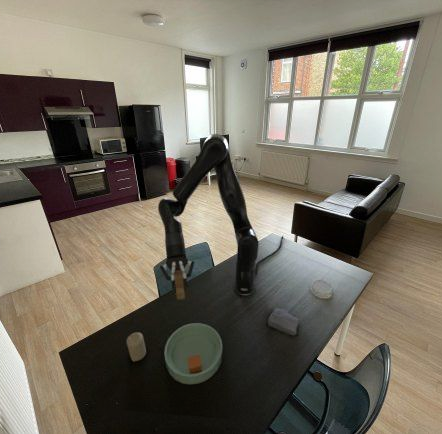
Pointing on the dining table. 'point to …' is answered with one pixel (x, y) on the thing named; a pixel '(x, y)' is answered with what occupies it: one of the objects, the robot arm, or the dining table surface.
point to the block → (195, 364)
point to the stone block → (284, 321)
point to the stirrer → (179, 284)
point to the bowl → (193, 352)
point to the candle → (136, 346)
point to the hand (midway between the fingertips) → (180, 289)
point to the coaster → (321, 289)
